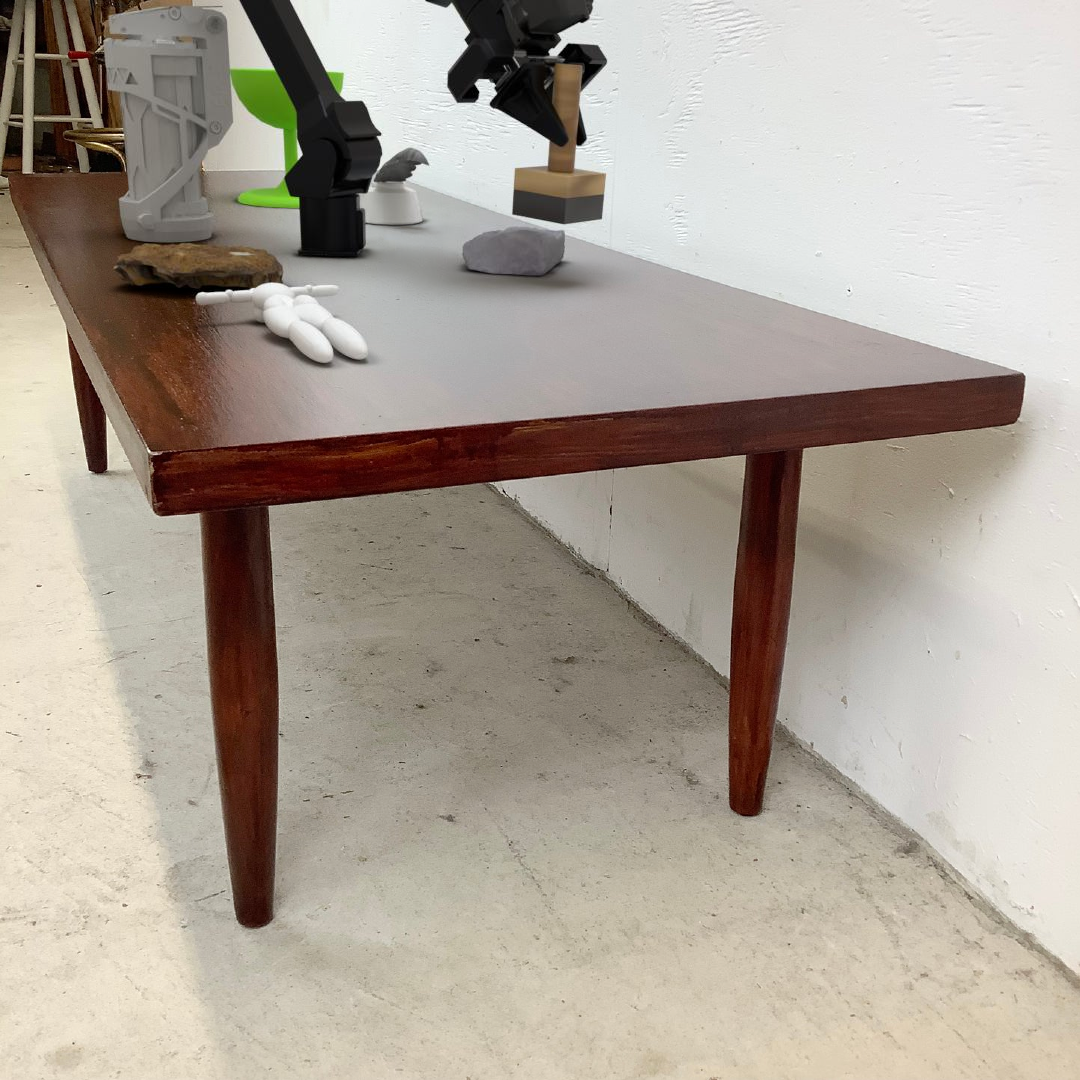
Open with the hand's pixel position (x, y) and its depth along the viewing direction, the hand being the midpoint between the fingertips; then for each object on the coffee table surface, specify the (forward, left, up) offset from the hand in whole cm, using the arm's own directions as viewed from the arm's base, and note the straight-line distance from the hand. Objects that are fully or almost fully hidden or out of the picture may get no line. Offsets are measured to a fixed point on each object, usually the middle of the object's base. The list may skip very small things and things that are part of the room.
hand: (574, 143), depth 111 cm
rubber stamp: (-1, +1, -7) cm, 7 cm away
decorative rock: (-35, -7, -14) cm, 38 cm away
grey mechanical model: (-45, +25, -14) cm, 53 cm away
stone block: (-6, +11, -14) cm, 18 cm away
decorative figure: (-22, -27, -14) cm, 38 cm away
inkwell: (-20, +41, -14) cm, 47 cm away
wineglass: (-38, +63, -14) cm, 74 cm away
